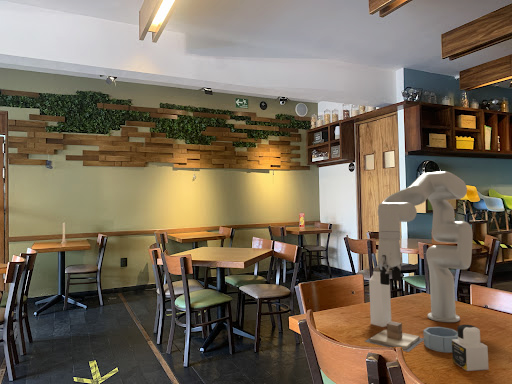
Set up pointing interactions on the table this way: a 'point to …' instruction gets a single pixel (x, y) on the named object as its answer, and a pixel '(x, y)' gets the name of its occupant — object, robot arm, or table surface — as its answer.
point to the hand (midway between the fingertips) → (390, 282)
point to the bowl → (439, 338)
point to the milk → (379, 301)
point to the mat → (392, 346)
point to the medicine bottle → (469, 349)
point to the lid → (395, 336)
